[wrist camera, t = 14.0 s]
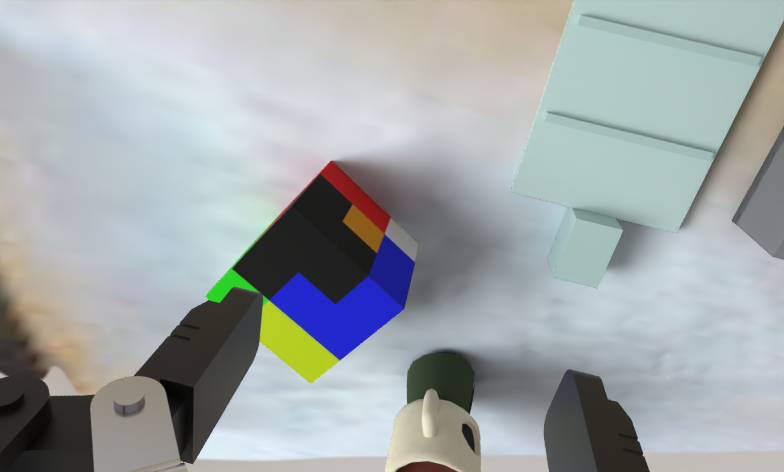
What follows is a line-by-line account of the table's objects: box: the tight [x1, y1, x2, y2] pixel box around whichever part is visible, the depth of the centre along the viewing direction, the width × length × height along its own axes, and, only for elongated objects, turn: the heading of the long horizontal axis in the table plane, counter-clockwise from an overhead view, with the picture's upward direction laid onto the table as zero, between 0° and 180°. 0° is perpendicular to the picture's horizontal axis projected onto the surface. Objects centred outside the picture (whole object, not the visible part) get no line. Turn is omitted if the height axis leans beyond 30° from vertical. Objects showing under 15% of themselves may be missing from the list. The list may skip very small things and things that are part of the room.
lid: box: [511, 0, 784, 288], centre depth 36 cm, size 24×13×3 cm, turn 168°
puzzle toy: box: [205, 161, 419, 383], centre depth 40 cm, size 10×10×10 cm
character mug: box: [385, 353, 481, 472], centre depth 43 cm, size 11×7×13 cm, turn 5°
